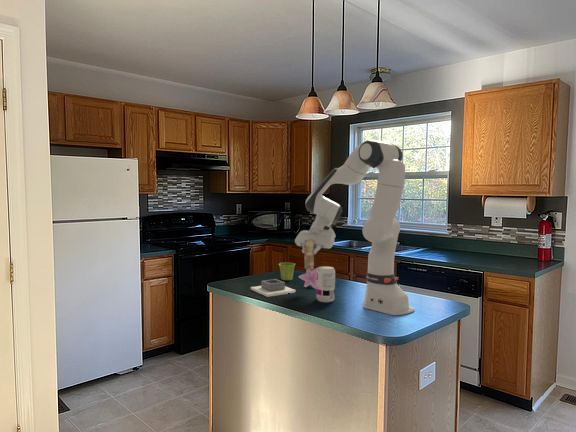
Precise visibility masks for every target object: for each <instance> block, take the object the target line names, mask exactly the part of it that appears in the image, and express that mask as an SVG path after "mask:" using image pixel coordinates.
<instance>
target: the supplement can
mask: <svg viewBox="0 0 576 432" xmlns="http://www.w3.org/2000/svg"><path fill="white" fill-rule="evenodd" d="M318 267H319V268H318ZM318 267H317V268H318V270H317V289H316V296H315V297H316V300H317V301H318V302H319V303H331V302H334V301H335V290H336V269H335V267H333V266H328V265H326V266H325V265H322V266H318Z"/></svg>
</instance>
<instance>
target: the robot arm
mask: <svg viewBox="0 0 576 432" xmlns="http://www.w3.org/2000/svg"><path fill="white" fill-rule="evenodd" d="M402 160H403V151H402V149H401V148H400V147H399V146H397V145H395V144H394V143H388V142H386V141H383V140H382V141H381V140H375V139H368V140H365V141H364V142H362V143H361V144H359V145H357V146H355V148H354V149H353V150H352V152H351V153H350V154H349V156H348V157H347V158H346V161H345V162H344V163H343V165H341V166H340V167H334V168H333V169H331V171H329V173H328V174H327V175H326V176H325V178H324V179H322V181H321V183H320V184H319V185H318V186H317V187H316V189H314V191H313V192H311V193H310V194H309V195H308V196H307V198H306V199H305V204H304V205H305V208H306V211H308V212H310V213H312V214H314V215H316V216H315V220H314V221H313V222H312V224H311V226H310V228H309V229H307V230H306V229H303V230H301V231H300V232H299V233H298V234H297V236H296V238H295V239H294V243H295V245H296V246H298V247H301V248H302V249H301V252H302V254H305V240H307V239H311V240H314V249H313V251H312V253H313V254H314V255H316V254H317V253H318V251H320V250H321V249H327V250H328V249H331V248H332V247H333V246H334V245H335V244H334V243H335V238H336V233H335V231H334V229H333V228H332V227H331V226H332V225H334V224H337V222H338V221H339V219H340V217H341V215H342V214H343V208H342V206H341V204H339V203H338V202H335V201H333V200H331V199H330V198H328V197H325V196H324V195H323V194H324V193H325V192H326V191H327V189H329V187H330V186H332V185H334V184H339V185H340V184H342V185H347V186H353V185H357V184H359V183H360V182H362V180H363V179H364V178H365V176H366V175H367V174H368V171H369V170H370V168H372V169H377V170H378V179H377V184H376V189H375V195H374V198H373V199H374V200H373V203H372V206H371V208H370V211H369V214H368V216H367V219H366V221H365V223H364V224H363V226H362V228H361V229H362V231H361V232H362V235H363V237H364V238H365V240H367V241H368V242H370V243H371V247H370V250H369V253H368V257H367V259H368V261H367V272H366V287H365V293H364V299H363V302H362V304H363V305H362V307H363V308H364V309H368V310H371V311H376V312H379V313H381V314H387V315H391V316H402V315H407V314H412V313H413V312H415V307H413V306H411V305H410V301H409V296H408V294H407V293H406V292H405V291H404V290H403V289H402V288H401V287H400V286H399V285H398V284H397V281H398V280H399V276H396V275H395V273H394V271H395V270H394V267H395V254H396V249H397V243H398V239H399V234H400V231H401V224H400V222H399V220H397V218H396V215H397V212H398V210H399V209H400V206H401V203H402V198H403V192H404V187H405V181H406V180H405V179H406V164H405V163H404V162H403V161H402Z"/></svg>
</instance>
